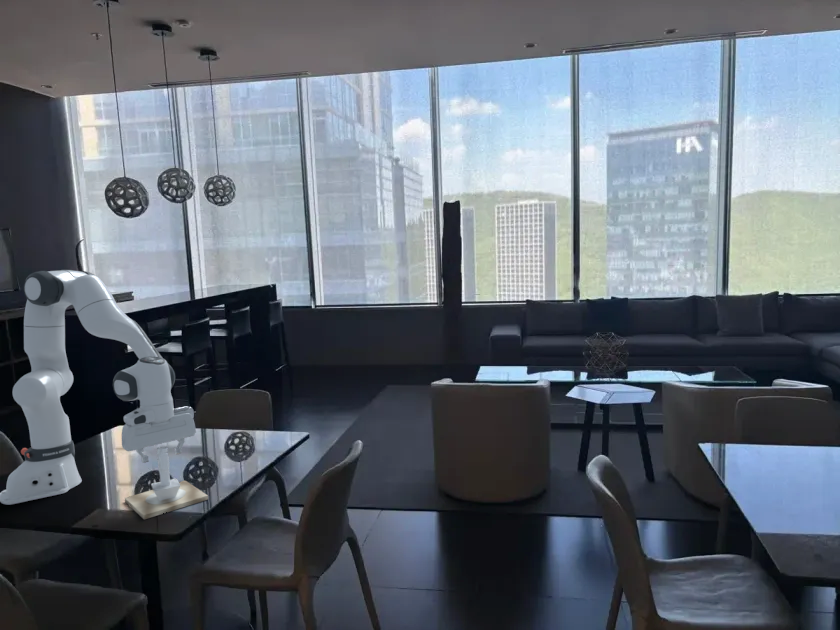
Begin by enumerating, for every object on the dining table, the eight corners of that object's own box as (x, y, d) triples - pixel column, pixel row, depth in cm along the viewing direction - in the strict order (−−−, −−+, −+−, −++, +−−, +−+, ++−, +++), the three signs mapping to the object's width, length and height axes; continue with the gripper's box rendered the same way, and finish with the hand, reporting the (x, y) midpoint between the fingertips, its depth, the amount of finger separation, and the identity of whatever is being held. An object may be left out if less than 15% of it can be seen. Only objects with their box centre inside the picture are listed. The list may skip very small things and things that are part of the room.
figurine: (177, 488, 181) (172, 440, 180) (182, 498, 173) (177, 448, 172) (151, 494, 178) (146, 445, 176) (155, 504, 169) (150, 454, 168)
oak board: (144, 519, 163) (143, 514, 163) (125, 501, 177) (124, 497, 176) (208, 499, 175) (207, 494, 175) (185, 484, 188) (185, 479, 188)
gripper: (189, 403, 182) (193, 446, 184) (117, 417, 169) (122, 464, 170) (197, 406, 178) (201, 451, 179) (123, 421, 164) (128, 469, 166)
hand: (162, 457), depth 175 cm, fingers open, 8 cm apart
